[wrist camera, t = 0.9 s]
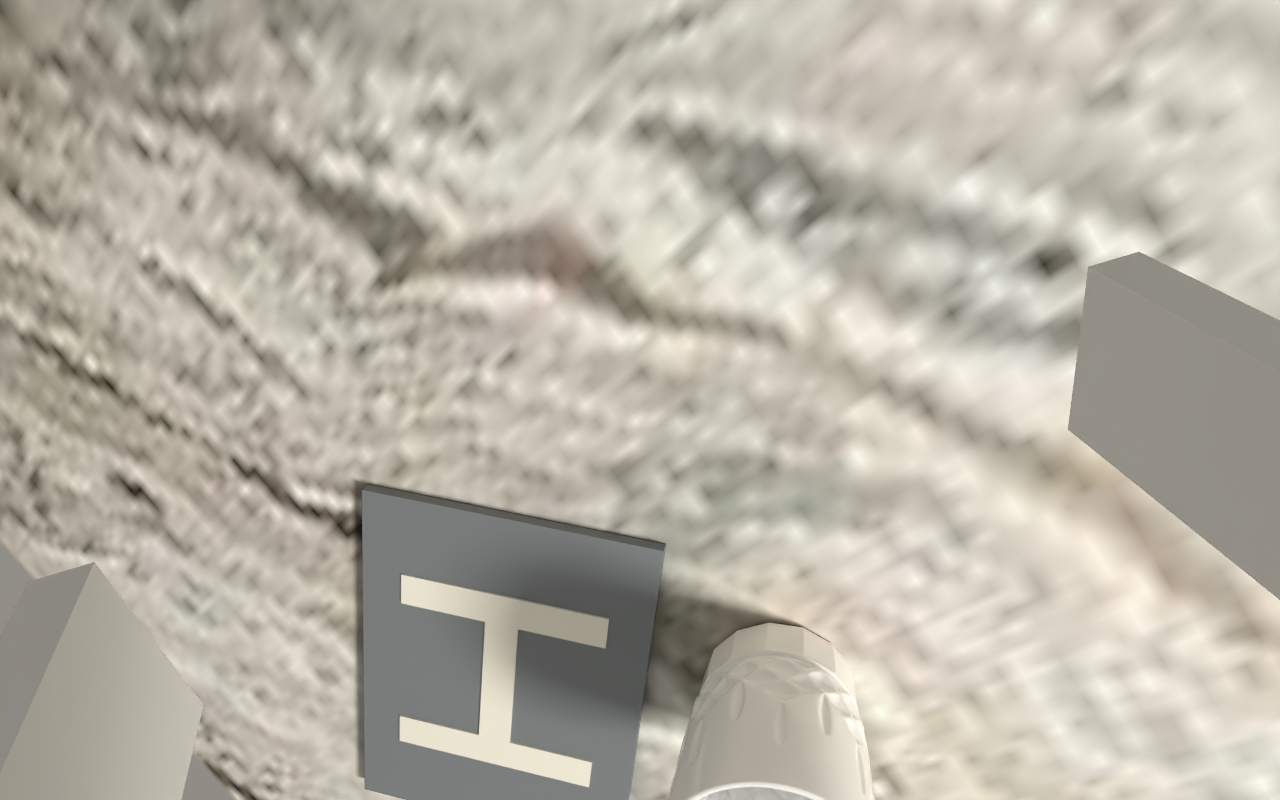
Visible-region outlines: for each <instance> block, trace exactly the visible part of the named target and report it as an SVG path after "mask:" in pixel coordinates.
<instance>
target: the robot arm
mask: <svg viewBox="0 0 1280 800" xmlns="http://www.w3.org/2000/svg"><path fill="white" fill-rule="evenodd" d="M1068 430H1069V431H1071V432H1072V433H1073V434H1074V435H1076V436H1077V437H1078V438H1079V439H1081V440H1082V441H1083V442H1084V443H1085V444H1087V445H1088V446H1089V447H1090V448H1092V449H1093V450H1094V451H1095V452H1097V453H1098V454H1099V455H1100V456H1102V457H1103V458H1104V459H1105V460H1107V461H1108V462H1109V463H1110V464H1112V465H1113V466H1114V467H1115V468H1117V469H1118V470H1119V471H1120V472H1122V473H1123V474H1124V475H1125V476H1127V477H1128V478H1129V479H1130V480H1131V481H1133V482H1134V483H1135V484H1136V485H1138V486H1139V487H1140V488H1141V489H1143V490H1144V491H1145V492H1146V493H1148V494H1149V495H1150V496H1151V497H1153V498H1154V499H1155V500H1156V501H1158V502H1159V503H1160V504H1161V505H1163V506H1164V507H1165V508H1166V509H1168V510H1169V511H1170V512H1171V513H1173V514H1174V515H1175V516H1176V517H1177V518H1179V519H1180V520H1181V521H1182V522H1184V523H1185V524H1186V525H1187V526H1189V527H1190V528H1191V529H1192V530H1194V531H1195V532H1196V533H1197V534H1199V535H1200V536H1201V537H1202V538H1204V539H1205V540H1206V541H1207V542H1209V543H1210V544H1211V545H1212V546H1214V547H1215V548H1216V549H1217V550H1219V551H1220V552H1221V553H1222V554H1223V555H1225V556H1226V557H1227V558H1228V559H1230V560H1231V561H1232V562H1233V563H1235V564H1236V565H1237V566H1238V567H1240V568H1241V569H1242V570H1243V571H1245V572H1246V573H1247V574H1248V575H1250V576H1251V577H1252V578H1253V579H1255V580H1256V581H1257V582H1258V583H1260V584H1261V585H1262V586H1263V587H1265V588H1266V589H1267V590H1268V591H1269V592H1271V593H1272V594H1273V595H1274V596H1276V597H1277V598H1278V599H1279V600H1280V320H1278V319H1275V318H1273V317H1271V316H1269V315H1267V314H1265V313H1263V312H1261V311H1259V310H1257V309H1255V308H1253V307H1251V306H1249V305H1247V304H1245V303H1243V302H1241V301H1239V300H1237V299H1235V298H1232V297H1230V296H1228V295H1226V294H1224V293H1222V292H1220V291H1218V290H1216V289H1214V288H1212V287H1210V286H1208V285H1206V284H1204V283H1202V282H1200V281H1198V280H1196V279H1194V278H1192V277H1189V276H1187V275H1185V274H1183V273H1181V272H1179V271H1177V270H1175V269H1173V268H1171V267H1169V266H1167V265H1165V264H1163V263H1161V262H1159V261H1157V260H1155V259H1153V258H1151V257H1149V256H1146V255H1144V254H1142V253H1140V252H1137V253H1133V254H1130V255H1127V256H1123V257H1120V258H1117V259H1113V260H1110V261H1106V262H1103V263H1100V264H1096V265H1093V266H1090V267H1088V274H1087V282H1086V290H1085V298H1084V306H1083V314H1082V322H1081V330H1080V338H1079V346H1078V354H1077V362H1076V370H1075V378H1074V385H1073V393H1072V401H1071V409H1070V417H1069V425H1068ZM202 710H203V704H202V703H201V701H200V700H199V699H198V697H197V696H196V695H195V693H194V692H193V691H192V689H191V688H190V687H189V686H188V684H187V683H186V682H185V680H184V679H183V678H182V676H181V675H180V674H179V672H178V671H177V670H176V668H175V667H174V666H173V665H172V663H171V662H170V661H169V659H168V658H167V657H166V655H165V654H164V653H163V651H162V650H161V649H160V648H159V646H158V645H157V644H156V642H155V641H154V640H153V638H152V637H151V636H150V634H149V633H148V632H147V630H146V629H145V628H144V627H143V625H142V624H141V623H140V621H139V620H138V619H137V617H136V616H135V615H134V613H133V612H132V611H131V610H130V608H129V607H128V606H127V604H126V603H125V602H124V600H123V599H122V598H121V596H120V595H119V594H118V593H117V591H116V590H115V589H114V587H113V586H112V585H111V583H110V582H109V581H108V579H107V578H106V577H105V575H104V574H103V573H102V572H101V570H100V569H99V568H98V566H97V565H96V564H95V562H94V563H90V564H87V565H84V566H80V567H77V568H74V569H70V570H67V571H63V572H60V573H57V574H53V575H50V576H47V577H43V578H40V579H37V580H33V581H30V582H28V583H27V585H26V586H25V589H24V590H23V592H22V594H21V596H20V598H19V600H18V602H17V603H16V605H15V607H14V609H13V611H12V613H11V615H10V617H9V619H8V620H7V622H6V624H5V626H4V628H3V630H2V632H1V634H0V800H181V799H182V794H183V790H184V786H185V781H186V777H187V773H188V769H189V764H190V760H191V756H192V752H193V748H194V744H195V739H196V735H197V731H198V727H199V722H200V718H201V714H202Z"/></svg>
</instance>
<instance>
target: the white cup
mask: <svg viewBox="0 0 1280 800" xmlns="http://www.w3.org/2000/svg"><path fill="white" fill-rule="evenodd" d="M668 800H875V796H874V790H873V783H872V776H871V769H870V762H869V753H868V748H867V744H866V739H865V734H864V726H863V723H862V722H861V719H860V716H859V711H858V707H857V703H856V696H855V688H854V680H853V673H852V670H851V668H850V667H849V666H848V664H847V663H846V661H845V660H844V659H843V657H842V656H841V655H840V653H839V652H838V651H837V649H836V648H835V646H834V645H833V644H831V643H830V642H828V641H826V640H824V639H823V638H821V637H819V636H817V635H816V634H814V633H812V632H810V631H809V630H807V629H805V628H803V627H797V626H790V625H783V624H776V623H765V624H761V625H757V626H753V627H749V628H745V629H741V630H737V631H736V632H734V633H733V634H732V635H731V636H730V637H728V638H727V639H726V640H725V641H724V642H722V643H721V644H720V645H719V646H717V647H716V648H715V649H714V650H713V653H712V656H711V658H710V661H709V664H708V667H707V669H706V672H705V675H704V678H703V682H702V686H701V690H700V694H699V695H698V697H697V698H696V700H695V703H694V706H693V710H692V714H691V717H690V720H689V722H688V725H687V729H686V732H685V736H684V739H683V743H682V746H681V750H680V754H679V758H678V762H677V765H676V769H675V773H674V777H673V781H672V785H671V788H670V792H669V796H668Z"/></svg>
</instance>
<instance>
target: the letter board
mask: <svg viewBox="0 0 1280 800" xmlns="http://www.w3.org/2000/svg"><path fill="white" fill-rule="evenodd" d="M665 547H666V544H662V543H657V542H652V541H647V540H642V539H637V538H632V537H627V536H622V535H617V534H613V533H608V532H603V531H598V530H593V529H588V528H583V527H578V526H573V525H568V524H563V523H558V522H553V521H548V520H543V519H538V518H533V517H529V516H524V515H519V514H514V513H509V512H504V511H499V510H494V509H489V508H484V507H479V506H474V505H469V504H464V503H459V502H454V501H449V500H444V499H440V498H435V497H430V496H425V495H420V494H415V493H410V492H405V491H400V490H395V489H390V488H385V487H380V486H375V485H370V484H368V485H367V486H366V487H364V488H363V489H362V557H363V663H364V770H365V789H367V790H371V791H375V792H379V793H382V794H386V795H390V796H394V797H398V798H402V799H406V800H629V797H630V790H631V783H632V776H633V769H634V762H635V755H636V748H637V741H638V734H639V727H640V720H641V713H642V706H643V699H644V693H645V686H646V679H647V672H648V665H649V658H650V651H651V644H652V637H653V630H654V623H655V616H656V609H657V602H658V595H659V588H660V582H661V575H662V568H663V561H664V554H665Z"/></svg>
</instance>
